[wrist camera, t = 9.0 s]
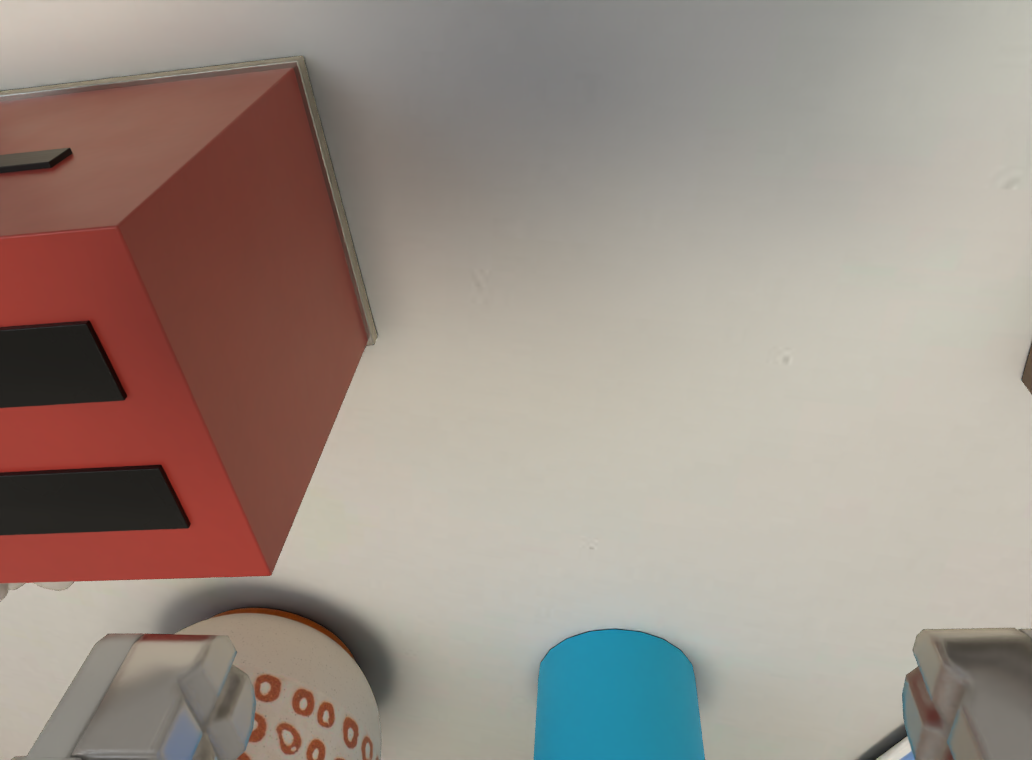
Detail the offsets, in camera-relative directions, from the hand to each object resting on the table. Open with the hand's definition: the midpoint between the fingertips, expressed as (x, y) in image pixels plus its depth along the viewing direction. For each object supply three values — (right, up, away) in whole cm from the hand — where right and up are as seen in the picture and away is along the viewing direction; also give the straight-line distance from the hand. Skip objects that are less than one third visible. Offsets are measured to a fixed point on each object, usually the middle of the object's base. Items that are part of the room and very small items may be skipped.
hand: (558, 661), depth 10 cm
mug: (+5, -14, +34) cm, 37 cm away
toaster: (-14, +9, +19) cm, 25 cm away
